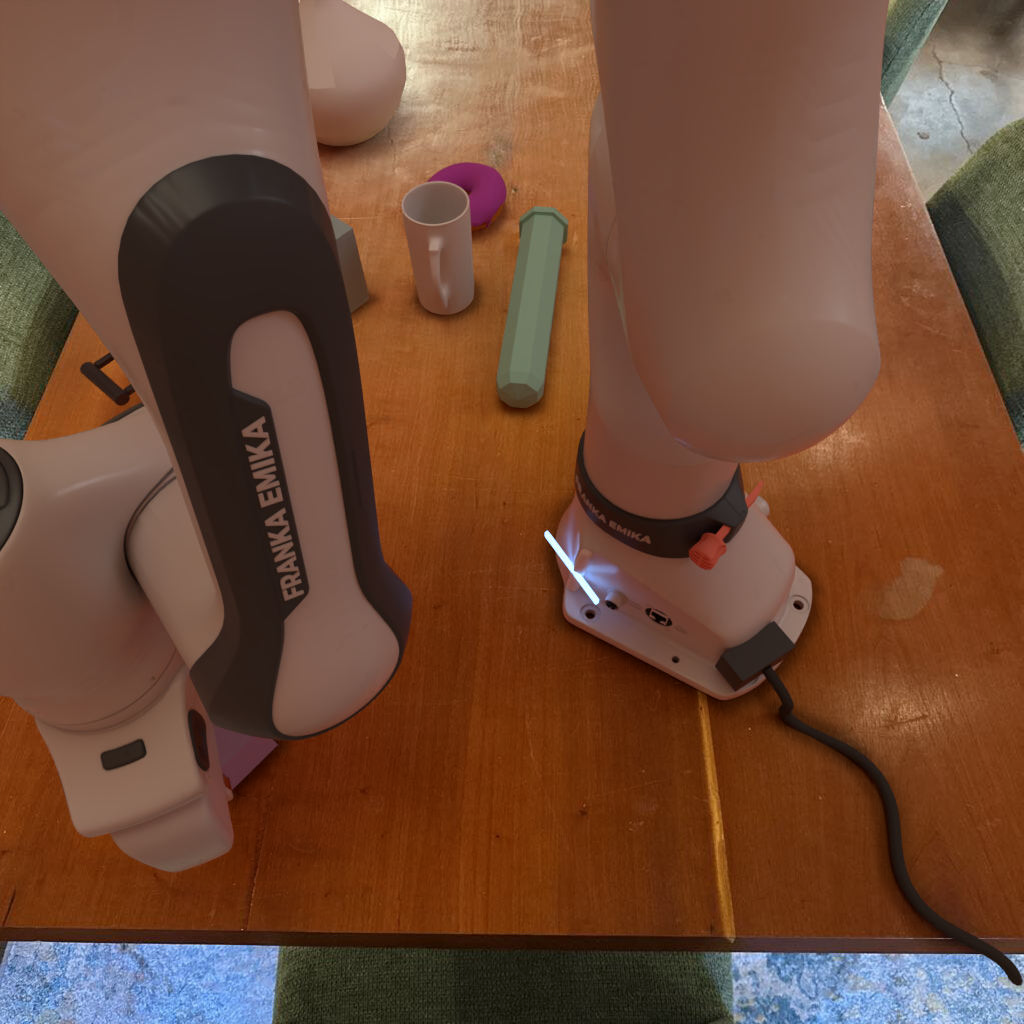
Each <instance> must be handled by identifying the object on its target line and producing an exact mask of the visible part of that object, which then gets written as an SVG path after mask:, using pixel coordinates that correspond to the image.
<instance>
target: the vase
mask: <svg viewBox="0 0 1024 1024" xmlns="http://www.w3.org/2000/svg"><path fill="white" fill-rule="evenodd" d="M299 11H300V19H301V27H302V37H303V45H304V52H305V61H306V70H307V78H308V86H309V93H310V101H311V109H312V116H313V122H314V128H315V135H316V141H317V143H318V144H323V145H326V146H330V147H350V146H353V145H359V144H361V143H364V142H366V141H368V140H370V139H372V138H373V137H375V136H377V134H379V133H381V131H382V130H384V129H385V127H386V126H388V124H389V123H390V122H391V120H392V119H393V117H394V115H395V114H396V113H397V111H398V108H399V106H400V104H401V102H402V98H403V97H402V96H403V93H404V89H405V87H406V81H407V63H406V54H405V49H404V48H403V46H402V44H401V42H400V40H399V38H398V36H397V34H396V32H395V31H394V30H393V28H391V27H390V26H389V25H388V24H386V23H385V22H383V21H381V20H379V19H377V18H375V17H373V16H372V15H369V14H367V13H365V12H364V11H362V10H360V9H358V8H356V7H354V6H353V5H351V4H350V3H347V2H346V1H344V0H299Z"/></svg>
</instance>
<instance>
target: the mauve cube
mask: <svg viewBox="0 0 1024 1024" xmlns="http://www.w3.org/2000/svg"><path fill="white" fill-rule="evenodd" d="M213 728H214V733H215V738H216V744H217V749H218V754H219V760H220V765H221V770H222V773H223V774H225V775H226V777H229V779H230V783H231V788H232V791H233V790H234V789H235V788H236V787H237V786H238V785H239V784H240V783H241V782H242V781H243V780H244V779H245V778H246V777H247V776H248V775H249V774H250V773H252V771H254V769H255V768H256V767H257V766H258V765H260V763H261V762H263V760H264V759H265V758H266V757H267V756H268V755H269V754H270V753H272V751H274V750H275V748H276V747H278V745H279V744H278V743H277V742H276V740H275V739H266V738H259V737H254V736H249V735H245V734H241V733H236V732H233V731H230V730H227V729H224V728H220V727H217V726H215V725H214V724H213Z"/></svg>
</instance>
